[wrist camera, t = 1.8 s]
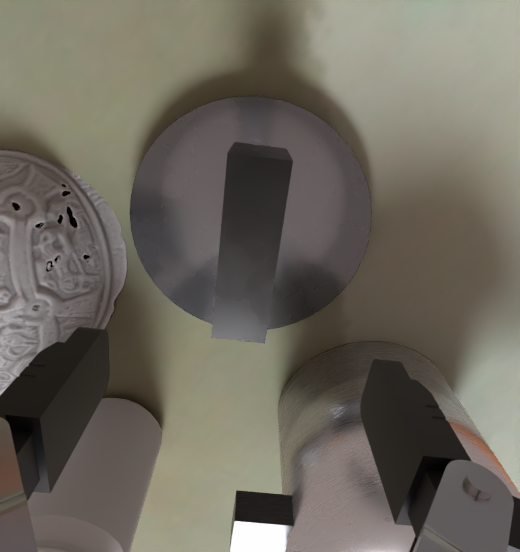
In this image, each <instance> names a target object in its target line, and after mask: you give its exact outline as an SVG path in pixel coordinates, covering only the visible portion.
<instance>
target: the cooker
mask: <svg viewBox="0 0 520 552" xmlns="http://www.w3.org/2000/svg"><path fill="white" fill-rule="evenodd" d="M374 359H381V360H390V361H399V362H401V363H402V364H403V366H404V368H405V370H406V371H407V373H408V375H409V377H410V379H411V380H418V381H419V382H420V383H421V384H422V385H423V386H424V387H425V388H426V389H428V390H429V391H430V392H431V393H432V395H433V397H434V398H435V400H436V402H437V403H438V405H439V409H441V410H442V412H443V414H444V415H445V417H446V421H448V422H449V424H450V425H451V427H452V429H453V430H454V432H455V434H456V435H457V437H458V439H459V440H460V442H461V444H462V445H463V447H464V449H465V450H466V452H467V454H468V455H469V457H470V459H471V461H472V462H474V463H477V464H479V465H481V466H483V467H485V468H487V469H488V470H490V471H491V472H493V473H494V474H495V475H496V476H498V477H499V478H500V479H501V480H502V481H503V482H504V484H505V485H506V486H507V487H508V489H509V491H510V492H511V495H512V496H514V497H517V498H519V499H520V493H519V491H518V490H517V488H516V487H515V485H514V484H513V482H512V481H511V479H510V477H509V476H508V474H507V473H506V471H505V470H504V468H503V467H502V465H501V464H500V462H499V461H498V459H497V458H496V456H495V455H494V453H493V452H492V450H491V449H490V447H489V446H488V444H487V443H486V441H485V440H484V438H483V437H482V435H481V433H480V432H479V430H478V429H477V427H476V426H475V424H474V423H473V421H472V420H471V418H470V417H469V415H468V414H467V412H466V411H465V409H464V408H463V406H462V405H461V403H460V402H459V400H458V399H457V397H456V396H455V394H454V393H453V391H452V389H451V388H450V386H449V385H448V383H447V382H446V380H445V379H444V377H443V376H442V374H441V373H440V371H439V370H438V369H437V368H436V366H435V365H434V364H433V363H432V362H431V361H430V360H428V359H427V358H426V357H425V356H423V355H421V354H420V353H418V352H416V351H414V350H412V349H410V348H407V347H404V346H401V345H398V344H393V343H387V342H375V341H369V342H357V343H351V344H346V345H342V346H339V347H335V348H333V349H330V350H328V351H325V352H323V353H322V354H320V355H318V356H316V357H314V358H313V359H311V360H310V361H308V362H307V363H305V364H304V365H303V366H302V367H301V368H300V369H299V370H298V371H297V372H296V373H295V374H294V375H293V376H292V377H291V378H290V380H289V381H288V383H287V385H286V386H285V388H284V390H283V392H282V395H281V398H280V401H279V407H278V423H279V442H280V461H281V479H282V494H270V493H259V492H247V491H236V497H235V504H234V511H233V518H232V526H231V541H230V552H409V550H410V547H411V544H412V542H413V540H414V538H415V533H414V530H413V527H412V526H408V525H396V524H395V522H394V519H393V516H392V513H391V510H390V507H389V504H388V501H387V497H386V494H385V491H384V488H383V485H382V482H381V479H380V476H379V473H378V470H377V466H376V463H375V460H374V457H373V454H372V451H371V448H370V445H369V442H368V438H367V435H366V432H365V429H364V426H363V423H362V420H361V414H360V404H361V398H362V394H363V391H364V387H365V384H366V381H367V377H368V374H369V370H370V367H371V364H372V362H373V360H374Z"/></svg>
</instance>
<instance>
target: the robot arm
mask: <svg viewBox="0 0 520 552" xmlns="http://www.w3.org/2000/svg"><path fill="white" fill-rule="evenodd" d="M108 381H109V346H108V333H107V331H106V330H105V329H97V328H87V327H78V328H77V329H76V330H75V331H74V332H73V333H72V335H71V336H70V337H69V338H68V340H67V341H66V342H65V343H64V342H56V343H54V344H52V345H50V346H49V347H47V348H45V349H43V350H42V351H40V352H39V353H38V354H37V355H36V356H35V358H34V359H33V360H32V361H31V362H30V363H29V366H26V368H25V369H24V370H23V371H22V372H21V373H20V375H19V377H16V379H15V380H14V381H13V382H12V383H11V384H10V385H9V386H8V387H7V389H6V390H5V391H4V392H3V393H2V394H1V395H0V552H38V549H37V544H36V540H35V535H34V531H33V526H32V522H31V517H30V512H29V508H28V503H27V501H28V500H29V498H30V496H31V495H32V493H33V492H40V493H51V491H52V489H53V487H54V485H55V484H56V482H57V480H58V478H59V476H60V474H61V473H62V471H63V469H64V467H65V465H66V463H67V462H68V460H69V458H70V456H71V454H72V452H73V451H74V449H75V447H76V445H77V443H78V441H79V440H80V438H81V436H82V434H83V432H84V430H85V429H86V427H87V425H88V423H89V421H90V419H91V418H92V416H93V414H94V412H95V410H96V408H97V407H98V405H99V403H100V401H101V399H102V397H103V396H104V394H105V391H106V389H107V385H108ZM360 414H361V420H362V423H363V426H364V429H365V432H366V435H367V438H368V442H369V445H370V448H371V451H372V454H373V457H374V460H375V463H376V466H377V470H378V473H379V476H380V479H381V482H382V485H383V488H384V491H385V494H386V497H387V501H388V504H389V507H390V510H391V513H392V516H393V519H394V522H395V524H396V525H408V526H412V527H413V530H414V533H415V538H414V540H413V542H412V544H411V547H410V550H409V552H520V499H519V498H517V497H514V496H512V495H511V492H510V491H509V489H508V487H507V486H506V485H505V484H504V482H503V481H502V480H501V479H500V478H499V477H498V476H496V475H495V474H494V473H493V472H491V471H490V470H488V469H487V468H485V467H483V466H481V465H479V464H477V463H474V462H472V461H471V459H470V457H469V455H468V454H467V452H466V450H465V449H464V447H463V445H462V444H461V442H460V440H459V439H458V437H457V435H456V434H455V432H454V430H453V429H452V427H451V425H450V424H449V422H448V421H446V417H445V415H444V414H443V412H442V410H441V409H439V405H438V403H437V402H436V400H435V398H434V397H433V395H432V393H431V392H430V391H429V390H428V389H426V388H425V387H424V386H423V385H422V384H421V383H420V382H419V381H418V380H411V379H410V377H409V375H408V373H407V371H406V370H405V368H404V366H403V364H402V363H401V362H399V361H390V360H381V359H374V360H373V362H372V364H371V367H370V370H369V374H368V377H367V381H366V384H365V387H364V391H363V394H362V398H361V404H360Z"/></svg>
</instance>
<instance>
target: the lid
mask: <svg viewBox="0 0 520 552" xmlns="http://www.w3.org/2000/svg"><path fill="white" fill-rule="evenodd" d="M371 215H372V211H371V200H370V194H369V189H368V185H367V181H366V178H365V176H364V173H363V170H362V168H361V166H360V164H359V162H358V160H357V158H356V156H355V155H354V153H353V151H352V150H351V149H350V147H349V146H348V145H347V143H346V142H345V141H344V139H343V138H342V137H341V136H340V135H339V134H338V133H337V132H336V131H335V130H334V129H333V128H332V127H331V126H330V125H328V124H327V123H326V122H324V121H323V120H322V119H320V118H319V117H318V116H316V115H314V114H312V113H311V112H309V111H307V110H305V109H303V108H301V107H299V106H296V105H293V104H291V103H288V102H285V101H281V100H277V99H272V98H267V97H254V96H244V97H231V98H226V99H222V100H218V101H213V102H211V103H208V104H206V105H203V106H200V107H198V108H196V109H194V110H192V111H190V112H189V113H187V114H185V115H183V116H182V117H180V118H179V119H178V120H176V121H175V122H174V123H173V124H171V125H170V126H169V127H167V129H166V130H165V131H164V132H163V133H162V134H161V135H160V136H159V137H158V138H157V139H156V140H155V142H154V143H153V144H152V146H151V147H150V149H149V150H148V151H147V153H146V155H145V157H144V159H143V161H142V163H141V164H140V166H139V169H138V172H137V175H136V178H135V180H134V184H133V189H132V194H131V202H130V222H131V231H132V235H133V240H134V244H135V247H136V250H137V253H138V255H139V258H140V260H141V262H142V264H143V266H144V268H145V270H146V271H147V273H148V274H149V276H150V277H151V279H152V280H153V282H154V283H155V284H156V285H157V287H158V288H159V289H160V290H161V291H162V292H163V293H164V294H165V295H166V296H167V297H168V298H169V299H170V300H171V301H172V302H173V303H175V304H176V305H177V306H179V307H180V308H182V309H183V310H184V311H186V312H188V313H189V314H191V315H193V316H195V317H197V318H199V319H201V320H203V321H206V322H208V323H211V324H213V326H212V338H220V339H229V340H238V341H248V342H257V343H265V338H266V332H267V330H268V329H274V328H279V327H283V326H287V325H290V324H293V323H296V322H298V321H301V320H303V319H305V318H307V317H309V316H311V315H313V314H314V313H316V312H318V311H319V310H321V309H322V308H324V307H325V306H326V305H328V304H329V303H330V302H331V301H332V300H333V299H335V298H336V297H337V296H338V295H339V294H340V293H341V292H342V290H343V289H344V288H345V287H346V286H347V284H348V283H349V282H350V280H351V279H352V277H353V276H354V274H355V273H356V271H357V269H358V267H359V265H360V263H361V261H362V259H363V257H364V254H365V251H366V248H367V245H368V241H369V235H370V230H371Z"/></svg>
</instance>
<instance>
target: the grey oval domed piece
mask: <svg viewBox="0 0 520 552" xmlns="http://www.w3.org/2000/svg"><path fill="white" fill-rule="evenodd" d="M79 178H80V176H75V174H74V173H71V172H68V171H67V169H63V168H61V167H59V166H57V165H55V164H53V163H52V162H50V161H47V160H45V159H43V158H40V157H37V156H35V155H33V154H30V153H25V152H21V151H15V150H4V149H0V395H1V394H2V393H3V392H4V391H5V390H6V389H7V387H8V386H9V385H10V384H11V383H12V382H13V381H14V380H15V379H16V377H19V375H20V373H21V372H22V371H23V370H24V369H25V368H26V366H29V363H30V362H31V361H32V360H33V359H34V358H35V356H36V355H37V354H38V353H39V352H40V351H42V350H43V349H45V348H47V347H49V346H50V345H52V344H54V343H56V342H64V343H65V342H66V341H67V340H68V338H69V337H70V336H71V335H72V333H73V332H74V331H75V330H76V329H77V328H78V327H87V328H97V329H105V326H106V325H107V323H108V322H109V320H110V316H111V315H112V313H113V311H114V309H115V308H114V300H115V299H116V297H117V296H118V294H119V293H120V291H121V290H122V288H123V285H124V282H125V277H126V273H127V255H126V243H125V240H124V239H123V237H122V234H121V226H120V224H119V222H118V219H117V218H116V216H115V214H114V213H113V211H112V209H111V208H110V206H109V205H108V204H107V203H106V202H105V199H104V198H102V197H99V194H98V193H97V191H96V190H95V189H93V188H90V184H87V182H86V181H85V180H80V179H79ZM62 184H65V185H66V187H63V186H62ZM63 191H70V192H71V194H70V195H66V196H65V197H63V196H62V193H63ZM13 202H15V203H17V204H18V205H19V206H20V210H18V211H15V209H14V207H13V206H12V203H13ZM68 206H69V207H70V208H71V210H72V212H73V214H72V215H73V217H74V218H75V219H76V220H77V225H78V226H77V228H74V227H72V226H71V225H70V222H69V220H70V219H69V215H67V207H68ZM18 209H19V208H18ZM59 215H62V216H63V220H62V223H61V224H59V223H58V221H57V220H58V219H59ZM39 223H44V225H43V226H42V227H41V228H36V227H35V225H36V224H39ZM41 225H42V224H41ZM41 225H40V226H41ZM40 226H39V227H40ZM93 246H94V248H95V247H96V248H95V249H94V248H93ZM58 255H60V256H59V257H58V258H57V261H58V262H55V260H54V259H55V258H56V257H57V256H58ZM83 255H89V256H90V257H89V258H87V260H83V259H84V258H83ZM82 260H83V261H82ZM48 261H52V265H55V266H53V267H50V266H51V264H50V263H48V266H47V262H48ZM87 261H89V262H88V263H87ZM46 267H48V268H47V269H48V270H50V269H51V270H50V271H49V272H47V271H46ZM99 303H100V304H99Z"/></svg>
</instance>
